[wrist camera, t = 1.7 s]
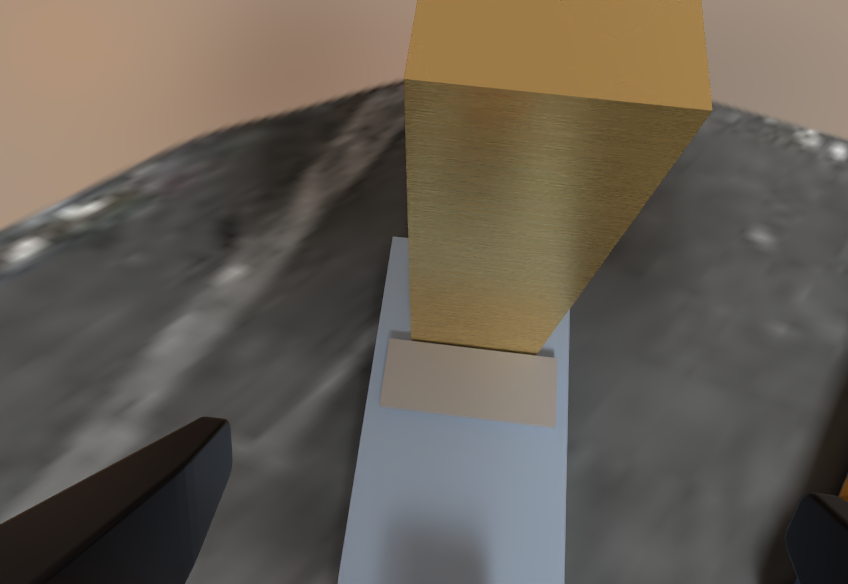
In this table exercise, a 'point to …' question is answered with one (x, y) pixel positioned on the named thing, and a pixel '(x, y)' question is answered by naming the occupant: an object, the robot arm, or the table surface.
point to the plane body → (458, 458)
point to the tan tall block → (536, 152)
